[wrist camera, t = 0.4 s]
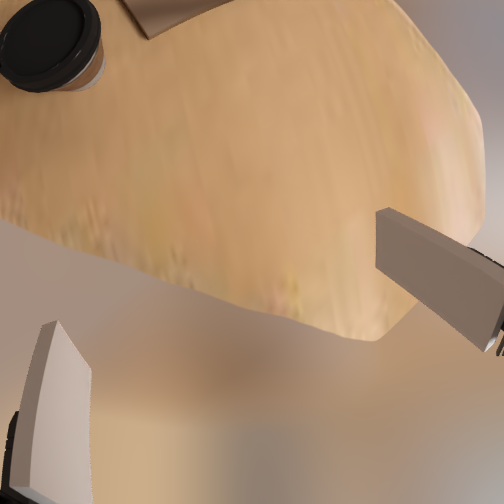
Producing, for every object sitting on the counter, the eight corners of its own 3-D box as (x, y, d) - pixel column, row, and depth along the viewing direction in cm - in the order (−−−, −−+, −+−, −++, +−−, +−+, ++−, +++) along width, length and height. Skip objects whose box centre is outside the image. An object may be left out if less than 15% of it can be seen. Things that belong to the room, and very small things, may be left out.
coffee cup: (39, 59, 23) (-18, 29, 10) (102, 22, 24) (79, -34, 11) (62, 115, 27) (9, 113, 14) (126, 78, 28) (112, 47, 15)
